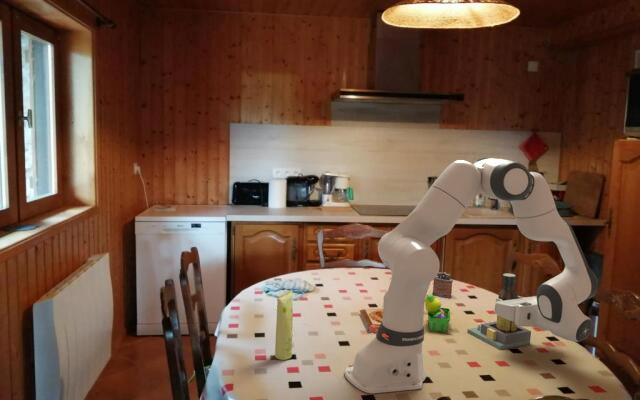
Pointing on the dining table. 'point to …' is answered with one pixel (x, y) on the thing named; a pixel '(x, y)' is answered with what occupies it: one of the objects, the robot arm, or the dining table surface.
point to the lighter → (442, 285)
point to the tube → (284, 327)
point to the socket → (505, 334)
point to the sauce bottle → (507, 294)
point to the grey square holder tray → (495, 343)
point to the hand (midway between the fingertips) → (506, 299)
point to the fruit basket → (437, 314)
